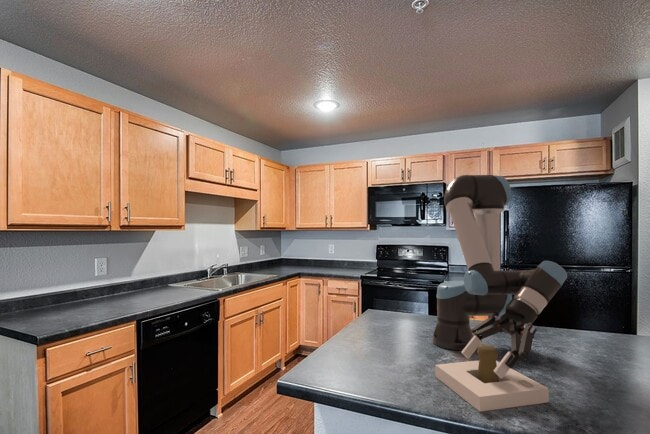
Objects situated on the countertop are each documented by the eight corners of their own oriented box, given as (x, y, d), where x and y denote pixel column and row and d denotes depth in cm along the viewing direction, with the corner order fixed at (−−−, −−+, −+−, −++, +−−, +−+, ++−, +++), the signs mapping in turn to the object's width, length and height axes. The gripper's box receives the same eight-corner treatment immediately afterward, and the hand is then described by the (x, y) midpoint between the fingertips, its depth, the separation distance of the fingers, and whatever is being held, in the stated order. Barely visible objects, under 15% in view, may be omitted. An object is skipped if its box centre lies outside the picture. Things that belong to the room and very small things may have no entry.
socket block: (435, 376, 102) (435, 363, 103) (493, 370, 107) (493, 357, 107) (479, 411, 83) (479, 394, 83) (548, 402, 87) (548, 386, 87)
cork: (503, 393, 91) (502, 351, 92) (478, 390, 92) (478, 349, 93) (496, 383, 97) (496, 343, 97) (473, 381, 98) (473, 342, 99)
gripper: (573, 328, 87) (523, 394, 83) (501, 306, 111) (461, 356, 107) (555, 307, 86) (504, 374, 82) (487, 290, 110) (445, 340, 106)
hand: (479, 364), depth 95 cm, fingers open, 13 cm apart
